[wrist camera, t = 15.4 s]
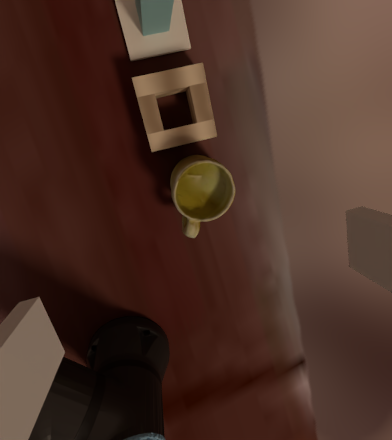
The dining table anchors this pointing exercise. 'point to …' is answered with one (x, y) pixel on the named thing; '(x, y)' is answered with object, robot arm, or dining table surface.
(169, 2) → the plug
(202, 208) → the mug
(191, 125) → the socket block
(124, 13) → the tile
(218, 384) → the dining table surface
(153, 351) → the robot arm
